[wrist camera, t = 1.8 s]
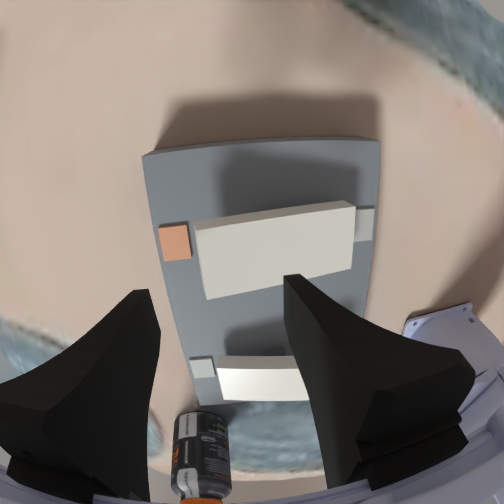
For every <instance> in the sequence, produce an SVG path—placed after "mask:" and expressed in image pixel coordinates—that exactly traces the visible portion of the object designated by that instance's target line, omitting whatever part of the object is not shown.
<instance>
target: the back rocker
mask: <svg viewBox="0 0 504 504" xmlns="http://www.w3.org/2000/svg"><path fill="white" fill-rule="evenodd" d="M217 372H218V377H219V381H220V386H221V390H222V395H223V399H224V400H243V401H295V400H309V397H308V394H307V390H306V387H305V385H304V382H303V379H302V377H301V374H300V371H299V369H298V366H297V363H296V361H295V358H294V356H222V355H219V359H218V364H217Z"/></svg>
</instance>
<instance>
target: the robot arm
mask: <svg viewBox="0 0 504 504" xmlns="http://www.w3.org/2000/svg"><path fill="white" fill-rule="evenodd" d="M283 299H284V324H285V328H286V333H287V337H288V341H289V344H290V347H291V350H292V353H293V355H294V358H295V361H296V363H297V366H298V369H299V371H300V374H301V377H302V379H303V382H304V385H305V387H306V390H307V394H308V397H309V400H310V405H311V409H312V413H313V417H314V421H315V426H316V430H317V435H318V439H319V444H320V449H321V454H322V460H323V465H324V471H325V476H326V483H327V488H328V489H327V490H323V491H319V492H314V493H309V494H304V495H298V496H294V497H287V498H280V499H273V500H266V501H256V502H246V503H232V504H483V503H484V502H485V501H487V500H489V499H490V498H491V497H492V496H494V497H495V499H496V501H497V503H498V504H504V348H503V346H502V344H501V342H500V341H499V340H498V339H497V338H496V337H495V335H494V334H493V333H492V332H491V331H490V330H489V329H488V328H487V327H486V326H485V325H484V324H483V323H482V322H481V321H480V320H479V319H478V318H477V317H476V316H475V315H474V313H473V312H472V308H473V304H472V303H471V302H469V303H466V304H462V305H459V306H456V307H452V308H449V309H445V310H441V311H438V312H434V313H430V314H427V315H423V316H419V317H415V318H411V319H409V320H407V322H406V324H405V327H404V330H403V334H402V335H399V334H396V333H394V332H391V331H389V330H386V329H384V328H382V327H379V326H377V325H375V324H373V323H371V322H369V321H367V320H365V319H364V318H362V317H360V316H358V315H356V314H355V313H353V312H351V311H350V310H348V309H347V308H345V307H343V306H342V305H340V304H339V303H337V302H336V301H335V300H333V299H332V298H330V297H329V296H328V295H326V294H325V293H324V292H322V291H321V290H320V289H318V288H317V287H316V286H315V285H313V284H312V283H311V282H310V281H308V280H307V279H306V278H305V277H304V276H302V275H301V274H292V275H283ZM160 338H161V330H160V327H159V324H158V320H157V317H156V314H155V310H154V307H153V303H152V300H151V296H150V293H149V289H141V290H133V291H132V292H130V293H129V294H128V295H127V296H126V297H125V298H124V299H123V300H122V301H121V302H119V303H118V304H117V305H116V306H115V307H114V308H113V309H112V310H111V311H110V312H109V313H108V314H107V315H106V316H105V317H104V318H103V319H102V320H101V321H100V322H98V323H97V324H96V325H95V326H94V327H93V328H92V329H91V330H89V331H88V332H87V333H86V334H85V335H84V336H83V337H81V338H80V339H79V340H78V341H76V342H75V343H74V344H72V345H71V346H70V347H68V348H67V349H66V350H64V351H63V352H61V353H60V354H58V355H57V356H55V357H53V358H52V359H50V360H49V361H47V362H45V363H44V364H42V365H40V366H38V367H37V368H35V369H33V370H31V371H29V372H27V373H25V374H23V375H21V376H18V377H16V378H14V379H11V380H9V381H6V382H4V383H1V384H0V446H1V447H2V448H3V449H4V450H5V451H6V452H7V453H8V454H10V455H11V459H10V463H9V465H8V467H5V466H3V465H0V504H167V503H153V502H151V501H150V493H149V483H148V467H147V425H148V410H149V402H150V397H151V392H152V387H153V382H154V377H155V372H156V367H157V363H158V358H159V351H160Z"/></svg>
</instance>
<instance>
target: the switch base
mask: <svg viewBox="0 0 504 504" xmlns="http://www.w3.org/2000/svg"><path fill="white" fill-rule="evenodd" d="M142 163H143V170H144V177H145V183H146V190H147V196H148V202H149V207H150V213H151V219H152V224H153V229H154V234H155V239H156V244H157V249H158V254H159V258H160V263H161V268H162V272H163V276H164V281H165V285H166V289H167V293H168V297H169V301H170V305H171V309H172V313H173V317H174V321H175V324H176V328H177V332H178V335H179V339H180V343H181V346H182V350H183V353H184V356H185V360H186V363H187V366H188V370H189V373H190V376H191V379H192V382H193V385H194V388H195V392H196V395H197V398H198V401H199V404H200V406H203V405H218V404H231V403H241V402H251V401H243V400H224V399H223V395H222V390H221V386H220V381H219V377H218V372H217V364H218V359H219V355H222V356H294V355H293V353H292V350H291V347H290V344H289V341H288V337H287V333H286V328H285V324H284V299H283V284H282V285H277V286H273V287H268V288H263V289H258V290H254V291H249V292H244V293H239V294H234V295H229V296H224V297H219V298H214V299H209V300H207V298H206V295H205V291H204V287H203V281H202V275H201V269H200V263H199V257H198V250H197V244H196V237H195V230H194V224H193V222H196V221H202V220H208V219H214V218H220V217H226V216H233V215H239V214H246V213H252V212H259V211H266V210H273V209H280V208H287V207H294V206H302V205H309V204H317V203H325V202H333V201H341V200H344V201H346V202H348V203H350V204H352V205H354V206H356V211H355V228H354V241H353V253H352V264H351V269H347V270H343V271H339V272H335V273H330V274H326V275H322V276H317V277H313V278H309V279H307V280H308V281H310V282H311V283H312V284H313V285H315V286H316V287H317V288H318V289H320V290H321V291H322V292H324V293H325V294H326V295H328V296H329V297H330V298H332V299H333V300H335V301H336V302H337V303H339V304H340V305H342V306H343V307H345V308H347V309H348V310H350V311H351V312H353V313H355V314H356V315H358V316H360V317H362V318H363V315H364V310H365V304H366V298H367V292H368V285H369V278H370V271H371V264H372V256H373V247H374V238H375V228H376V217H377V205H378V189H379V167H380V141H376V140H371V139H367V138H362V137H349V136H306V137H276V138H258V139H244V140H232V141H221V142H211V143H202V144H194V145H186V146H178V147H171V148H164V149H158V150H153V151H151V152H149V153H147V154H145V155H143V156H142Z"/></svg>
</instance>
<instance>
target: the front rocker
mask: <svg viewBox="0 0 504 504" xmlns="http://www.w3.org/2000/svg"><path fill="white" fill-rule="evenodd" d="M355 211H356V206H354V205H352V204H350V203H348V202H346V201H344V200H341V201H333V202H325V203H317V204H309V205H302V206H294V207H287V208H280V209H273V210H266V211H259V212H252V213H246V214H239V215H233V216H226V217H220V218H214V219H208V220H202V221H196V222H193V224H194V230H195V237H196V244H197V250H198V257H199V263H200V269H201V275H202V281H203V287H204V291H205V295H206V298H207V300H209V299H214V298H219V297H224V296H229V295H234V294H239V293H244V292H249V291H254V290H258V289H263V288H268V287H273V286H277V285H282V284H283V275H292V274H301V275H302V276H304V277H305V278H306V279H309V278H313V277H317V276H322V275H326V274H330V273H335V272H339V271H343V270H347V269H351V264H352V253H353V241H354V228H355Z"/></svg>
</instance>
